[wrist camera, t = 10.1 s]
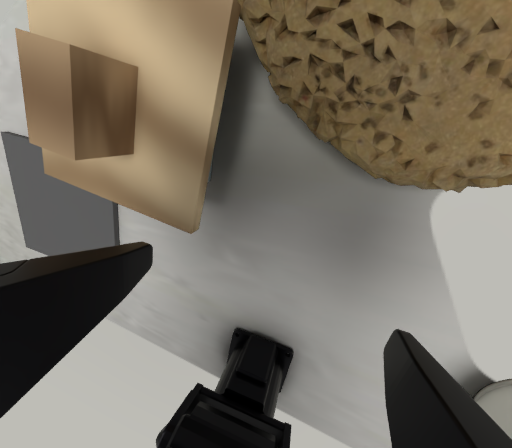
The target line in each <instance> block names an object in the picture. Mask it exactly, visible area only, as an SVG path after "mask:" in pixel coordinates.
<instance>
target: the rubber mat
mask: <svg viewBox="0 0 512 448" xmlns="http://www.w3.org/2000/svg"><path fill="white" fill-rule="evenodd" d="M1 135H2V140H3V144H4V149H5V153H6V158H7V162H8V167H9V171H10V176H11V180H12V185H13V189H14V194H15V198H16V203H17V207H18V212H19V216H20V221H21V225H22V230H23V234H24V239H25V243H26V247H28V248H30V249H33V250H35V251H38V252H40V253H43V254H45V255H48V256H54V255H60V254H66V253H73V252H79V251H85V250H92V249H98V248H104V247H111V246H117V245H119V227H118V206H117V203H115V202H113V201H110V200H108V199H105V198H103V197H100V196H98V195H96V194H93V193H91V192H88V191H86V190H84V189H81V188H79V187H76V186H74V185H71V184H69V183H67V182H64V181H62V180H59V179H57V178H54V177H52V176H50V175H47V174H45V173H44V163H43V154H42V147H39V146H37V145H34V144H32V143H29V137H25V136H21V135H17V134H14V133H10V132H1Z"/></svg>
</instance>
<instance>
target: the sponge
mask: <svg viewBox="0 0 512 448" xmlns="http://www.w3.org/2000/svg"><path fill="white" fill-rule="evenodd" d="M237 1H238V3H239V4H240V5H241V9H240V15H239V17H240V19H242V20H243V21H244V23H245V26H246V29H247V31H248V34H249V36H250V38H251V40H252V43H253V45H254V48H255V50H256V52H257V55H258V57H259V59H260V61H261V63H262V65H263V67H264V68H265V69H266V70H267V72H270V75H269V76H268V78H269V81H270V83H271V86H272V88H273V89H274V91H275V93H276V94H277V95H278V96H279V100H280V101H281V102H282V103H283V104H286V103H287V104H288V105H289V106H290V107H291V108H292V109H293V110H294V111H295V112H296V114H297V117H298V118H301V119H302V120H303V121H304V122H305V123H306V124H307V126H308V128H309V129H310V130H311V131H312V132H313V133H314V134H315V136H316V137H317V138H318V139H319V140H322V141H324V142H325V143H326V142H331V144H332V145H333V146H334V147H335V148H336V149H337V150H338V151H340V152H341V153H342V154H343V155H344V156H345V157H346V158H347V159H349V160H351V161H352V162H354V163H355V164H357V165H358V166H360V167H361V168H362V169H363V170H365V171H366V172H367V173H369V174H370V175H371V176H373V177H374V178H375V179H378V178H383V179H385V180H386V181H388V182H390V183H393V184H396V185H400V186H405V185H415V186H417V187H419V188H421V189H443V190H445V191H449V190H454V191H456V192H458V193H460V192H461V191H462V190H463V189H464V188H466V187H467V186H471V187H480V188H490V187H499V186H502V185H512V0H237Z"/></svg>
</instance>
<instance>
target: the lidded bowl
mask: <svg viewBox="0 0 512 448" xmlns="http://www.w3.org/2000/svg"><path fill="white" fill-rule="evenodd" d="M474 400H475V401H476V402H477V404H478V405H479V406H480V407H481V408H482V409H483V410H484V411H485V412H486V413H487V414H488V415H489V416H490V417H491V418H492V419H493V420H494V421H495V422H496V423H497V424H498V425H499V427H500V428H501V429H502V430H503V431H504V432H505V433H506V434H507V435H508V436H509V437H510V438H511V439H512V379H507V380H502V381H498V382H495V383H492V384H490V385H488V386H486V387H484V388H483V389H481V390H480V391H479V392H478V393H477V394H476V396H475V397H474Z"/></svg>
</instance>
